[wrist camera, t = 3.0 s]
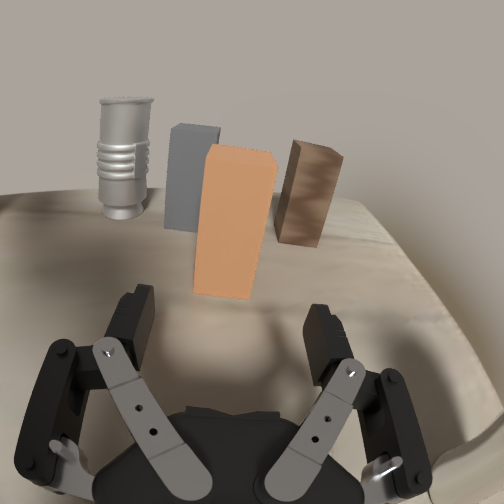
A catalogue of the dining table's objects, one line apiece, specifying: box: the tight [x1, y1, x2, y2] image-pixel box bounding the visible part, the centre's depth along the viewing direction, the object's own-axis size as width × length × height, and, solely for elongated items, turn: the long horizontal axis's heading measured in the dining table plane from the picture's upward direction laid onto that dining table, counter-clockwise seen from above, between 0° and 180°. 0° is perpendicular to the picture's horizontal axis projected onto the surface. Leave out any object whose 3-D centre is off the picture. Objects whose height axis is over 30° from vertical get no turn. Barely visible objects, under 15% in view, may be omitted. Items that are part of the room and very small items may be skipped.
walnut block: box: [274, 140, 343, 248], centre depth 35 cm, size 5×5×12 cm
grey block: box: [164, 123, 221, 232], centre depth 33 cm, size 5×5×12 cm
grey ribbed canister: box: [97, 97, 154, 220], centre depth 32 cm, size 7×7×15 cm
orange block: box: [193, 144, 278, 300], centre depth 24 cm, size 5×5×12 cm
